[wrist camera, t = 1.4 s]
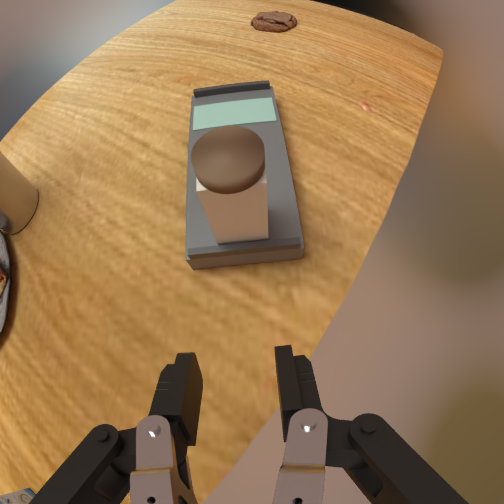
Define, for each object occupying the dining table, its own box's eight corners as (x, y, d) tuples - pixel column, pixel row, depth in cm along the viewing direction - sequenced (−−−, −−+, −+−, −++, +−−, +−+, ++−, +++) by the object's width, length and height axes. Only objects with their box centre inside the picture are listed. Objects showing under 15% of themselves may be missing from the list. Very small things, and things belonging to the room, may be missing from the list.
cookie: (305, 26, 54) (306, 15, 51) (271, 37, 52) (271, 26, 49) (276, 14, 57) (275, 5, 54) (242, 25, 55) (241, 15, 52)
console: (301, 258, 33) (305, 243, 29) (192, 269, 33) (182, 255, 29) (272, 100, 43) (272, 80, 39) (195, 109, 43) (190, 90, 39)
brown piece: (270, 246, 30) (268, 176, 19) (217, 251, 30) (189, 185, 19) (264, 201, 32) (260, 122, 21) (215, 206, 32) (191, 130, 21)
